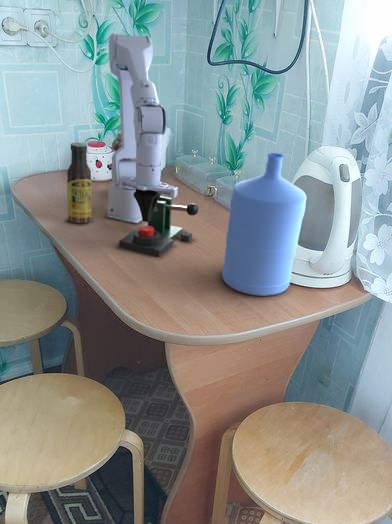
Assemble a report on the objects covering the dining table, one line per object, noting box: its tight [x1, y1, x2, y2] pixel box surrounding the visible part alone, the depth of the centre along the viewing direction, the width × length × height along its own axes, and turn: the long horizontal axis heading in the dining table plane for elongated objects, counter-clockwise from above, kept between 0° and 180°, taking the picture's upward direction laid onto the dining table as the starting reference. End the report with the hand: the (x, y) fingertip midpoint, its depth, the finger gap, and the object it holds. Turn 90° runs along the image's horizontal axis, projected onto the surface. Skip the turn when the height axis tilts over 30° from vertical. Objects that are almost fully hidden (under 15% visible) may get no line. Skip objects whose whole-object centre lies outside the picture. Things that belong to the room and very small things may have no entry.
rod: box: [158, 200, 199, 217], centre depth 131 cm, size 12×3×3 cm, turn 68°
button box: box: [118, 228, 174, 258], centre depth 128 cm, size 11×8×4 cm
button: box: [138, 225, 154, 237], centre depth 127 cm, size 4×4×2 cm
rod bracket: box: [135, 195, 184, 241], centre depth 134 cm, size 10×9×9 cm
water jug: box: [221, 152, 307, 297], centre depth 110 cm, size 16×16×28 cm
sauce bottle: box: [66, 142, 92, 224], centre depth 135 cm, size 6×6×20 cm
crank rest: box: [179, 231, 193, 243], centre depth 134 cm, size 2×2×2 cm
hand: (146, 220), depth 125 cm, fingers closed
